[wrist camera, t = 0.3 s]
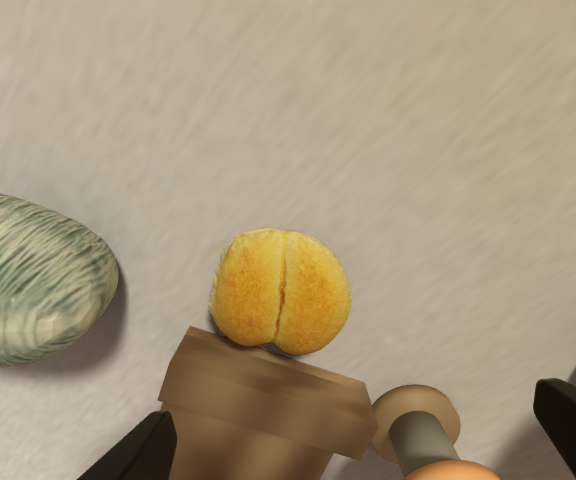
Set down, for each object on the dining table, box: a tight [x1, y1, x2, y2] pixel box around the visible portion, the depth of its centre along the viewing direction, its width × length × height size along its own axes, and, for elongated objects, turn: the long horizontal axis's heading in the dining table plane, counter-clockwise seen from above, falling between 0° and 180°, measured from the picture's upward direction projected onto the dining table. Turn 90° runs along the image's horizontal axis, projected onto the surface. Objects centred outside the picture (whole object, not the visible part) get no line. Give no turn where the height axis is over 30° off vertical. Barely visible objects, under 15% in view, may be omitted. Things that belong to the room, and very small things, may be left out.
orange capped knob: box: [371, 385, 500, 480], centre depth 21 cm, size 7×7×7 cm
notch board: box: [158, 326, 379, 480], centre depth 23 cm, size 14×18×4 cm
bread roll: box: [208, 228, 351, 355], centre depth 19 cm, size 8×9×4 cm
